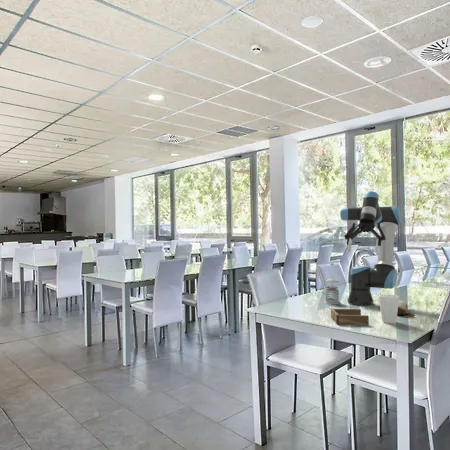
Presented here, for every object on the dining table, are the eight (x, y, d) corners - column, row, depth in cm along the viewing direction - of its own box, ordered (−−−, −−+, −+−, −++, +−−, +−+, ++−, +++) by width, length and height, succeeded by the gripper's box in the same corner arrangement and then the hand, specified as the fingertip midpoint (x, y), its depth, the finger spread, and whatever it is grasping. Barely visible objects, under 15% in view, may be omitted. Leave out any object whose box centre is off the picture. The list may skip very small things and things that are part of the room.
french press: (341, 304, 241) (340, 263, 241) (321, 303, 243) (321, 263, 244) (339, 301, 251) (339, 262, 251) (321, 300, 253) (320, 262, 253)
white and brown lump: (393, 309, 221) (405, 297, 216) (407, 324, 215) (420, 312, 211) (383, 311, 213) (396, 299, 208) (398, 327, 207) (411, 314, 202)
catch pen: (331, 317, 206) (331, 308, 206) (360, 317, 204) (360, 309, 204) (336, 324, 190) (336, 315, 190) (368, 325, 188) (368, 315, 188)
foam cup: (394, 319, 200) (393, 294, 200) (402, 323, 191) (402, 297, 191) (375, 319, 200) (375, 294, 200) (383, 324, 190) (383, 297, 191)
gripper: (342, 213, 212) (336, 246, 202) (391, 211, 198) (387, 247, 188) (346, 221, 217) (339, 253, 207) (394, 220, 203) (389, 255, 193)
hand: (362, 250), depth 197 cm, fingers open, 13 cm apart
